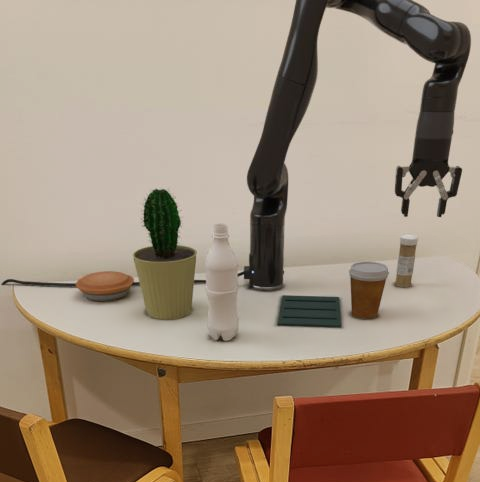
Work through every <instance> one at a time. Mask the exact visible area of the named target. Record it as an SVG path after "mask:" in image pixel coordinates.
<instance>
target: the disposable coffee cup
mask: <svg viewBox="0 0 480 482" xmlns="http://www.w3.org/2000/svg"><path fill="white" fill-rule="evenodd" d="M348 274H349V278H350V279H349V280H350V302H351V306H350V308H351V316H352V317H354V318H357V319H361V320H372V319H375V318H377V317H378V316H379V315H378V314H379V312H380V311H379V310H380V306H381V302H382V298H383V294H384V290H385V286H386V282H387V279H388V277H389V275H390V271H389V267H388V265H386V264H384V263H381V262H375V261H358V262H355V263H352V264H351V266H350V268H349V270H348Z"/></svg>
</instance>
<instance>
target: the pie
mask: <svg viewBox="0 0 480 482" xmlns="http://www.w3.org/2000/svg"><path fill="white" fill-rule="evenodd" d="M133 282H135V278H134V277H133V276H131V275H129V274H126V273H123V272H121V271H113V270H108V271H107V270H106V271H105V270H104V271H97V272H92V273H88V274H86V275H84V276H82V277H81V278H79V279H77V281H76V282H75V283H76V285H75V286H74V287H76V288H77V289H78V290H79V292H81V293H82V294H83V296H84V297H85V298H86V299H88V300H90V301H93V302H111V301H116V300H119V299H122V298H124V297H125V296H127V294H128V293H129V291H130V288H131V287H132V286H133V285H132V284H133Z"/></svg>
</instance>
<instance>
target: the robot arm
mask: <svg viewBox="0 0 480 482" xmlns="http://www.w3.org/2000/svg"><path fill="white" fill-rule="evenodd" d="M326 9H336V10H339V11H343V12H347V13H351V14H354V15H356V16H359V17H361V18H362V19H364V20H365V21H367V22H368V23H370V24H371V25H372V26H374V27H375V28H376V29H377V30H378V31H380V32H382V33H384V34H385V35H387V36H388V37H390V38H392V39H394V40H395V41H397V42H399V43H401V44H404V45H405V46H407V47H408V48H409V49H410V50H412V51H413V53H415V54H416V55H418V56H419V57H421V58H422V59H423V60H425V61H427V62H430V63H431V64H434V67H433V71H432V75H431V77H429V78H428V79H427V80H426V81H424V84H423V85H422V86H423V87H422V92H421V97H420V104H419V105H420V106H419V113H418V117H417V121H416V127H415V134H414V142H413V151H412V158H411V163H410V164H409V166H408V165H407V166H401V165H397V166H396V168H395V181H394V194H395V196H396V197H399V198H401V199H402V200H401V209H400V212H401V214H402V215H403V217H404V218H408V216H409V208H410V202H411V199H410V197H411V195H412V194H413V193H414V192H415V191H416V189H417V188H418V187H423V188H424V187H429V188H434V187H436V189H437V191H438V194H439V196H440V197H439V198H438V204H437V205H438V206H437V211H436V217H437V218H442V217H443V215H445V213H446V209H447V203H448V200H449V199H450V198H455V197H457V195H458V192H459V186H460V183H461V178H462V175H463V174H462V173H463V168H462V167H461V166H459V165H456V166H450V165H449V157H450V152H451V145H452V139H453V135H454V127H455V114H456V113H455V111H456V107H457V106H456V105H457V101H458V100H457V99H458V93H459V86H460V83H461V81H462V78H463V75H464V72H465V69H466V67H467V64H468V61H469V57H470V53H471V47H472V35H471V31H470V29H469V27H468V26H467V24H465V23H463V22H460V21H447V20H444V19H442V18H440V17H438V16H435V15H433V14H431V12H430V10H429V9H428V8H426V6H424V5H423V4H420V3H419V2H417V1H415V0H295V4H294V9H293V14H292V19H291V23H290V26H289V31H288V35H287V39H286V42H285V45H284V50H283V53H282V58H281V61H280V64H279V67H278V70H277V74H276V77H275V81H274V84H273V88H272V92H271V95H270V100H269V104H268V106H267V107H268V108H267V111H266V115H265V119H264V123H263V128H262V133H261V136H260V139H259V142H258V144H257V146H256V149H255V152H254V155H253V157H252V159H251V162H250V164H249V166H248V170H247V173H246V185H247V188H248V191H249V192H250V194H252V195H253V203H252V207H251V209H250V213H249V255H248V265H244V267H243V271H240V272H238V278H239V277H241V276H243V280H248V288H249V289H251V290H253V289H254V290H256V291H263V292H266V291H267V292H268V291H270V292H271V291H277V290H280V289H282V288H283V287H284V275H285V270H284V261H285V260H284V259H285V227H286V226H285V224H286V222H285V221H286V214H287V210H288V197H289V170H288V167H287V165H286V163H285V161H286V159H287V155H288V151H289V148H290V145H291V143H292V140H293V138H294V136H295V134H296V132H297V131H298V129H299V127H300V125H301V123H302V121H303V119H304V117H305V115H306V113H307V111H308V108H309V105H310V103H311V101H312V97H313V93H314V90H315V87H316V84H317V80H318V75H319V74H318V73H319V57H318V56H319V55H318V40H319V39H318V38H319V34H320V33H319V32H320V28H321V24H322V22H323V18H324V14H325V11H326ZM408 172H409V175H410V176H411V178H412V179H411V180H410V182H408V184H407V187H406V188H405V189H404V190H403V178H405V177H406V176H407V173H408ZM448 173H449V176H450V177H451V182H450V187H449V190H446V187H445V184H444V182H443V179H444V178H445V177H446V176H447V174H448ZM8 283H15V284H20V285H29V286H30V285H31V286H49V287H51V286H52V287H53V286H54V287H76V286H75V285H76V282H74V283H73V282H71V283H70V282H43V281H27V280H24V281H23V280H18V279H13V278H7V279H5V280H3V282H2V283H1V284H0V285H1V286H5V285H6V284H8ZM194 284H206V279H194ZM131 286H140V283H139V281H134V282H133V284H132V285H131Z"/></svg>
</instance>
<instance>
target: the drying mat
mask: <svg viewBox="0 0 480 482" xmlns="http://www.w3.org/2000/svg"><path fill="white" fill-rule="evenodd" d="M341 318H342V317H341V302H340V296H327V295H326V296H323V295H321V296H319V295H293V294H292V295H287V294H286V295H285V294H282V296H281V301H280V307H279V314H278V319H277V326H285V327H313V328H339V329H340V328H342V321H341Z"/></svg>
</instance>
